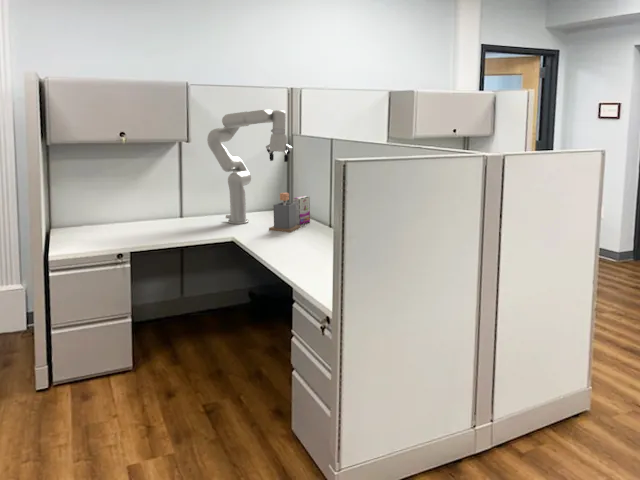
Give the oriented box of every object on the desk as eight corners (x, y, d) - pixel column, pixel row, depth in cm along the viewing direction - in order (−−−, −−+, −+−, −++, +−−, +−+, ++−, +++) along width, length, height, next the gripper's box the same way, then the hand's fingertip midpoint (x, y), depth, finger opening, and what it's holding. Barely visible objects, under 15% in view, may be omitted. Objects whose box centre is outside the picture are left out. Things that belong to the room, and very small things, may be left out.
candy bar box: (303, 221, 377) (303, 195, 373) (310, 222, 374) (310, 196, 371) (293, 224, 368) (292, 197, 364) (299, 225, 365) (299, 198, 362)
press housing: (269, 230, 350) (268, 205, 347) (279, 226, 363) (279, 201, 359) (290, 232, 345) (290, 206, 341) (300, 227, 357) (300, 202, 354)
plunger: (276, 226, 351) (275, 193, 347) (282, 224, 358) (281, 191, 354) (288, 227, 349) (287, 194, 344) (293, 225, 355) (292, 192, 351)
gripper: (263, 131, 351) (263, 160, 355) (289, 132, 345) (288, 162, 348) (269, 131, 358) (269, 159, 362) (295, 132, 351) (294, 161, 355)
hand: (278, 161), depth 355 cm, fingers open, 9 cm apart
